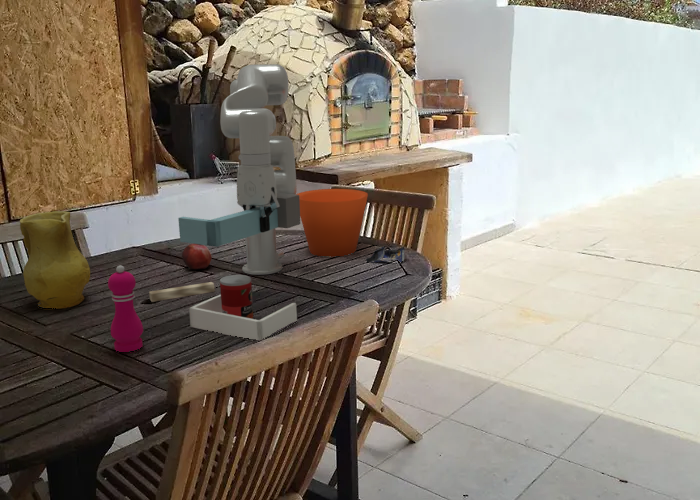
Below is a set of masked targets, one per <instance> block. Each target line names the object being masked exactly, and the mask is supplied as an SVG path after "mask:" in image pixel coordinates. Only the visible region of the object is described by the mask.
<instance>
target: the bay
mask: <svg viewBox="0 0 700 500" xmlns="http://www.w3.org/2000/svg"><path fill="white" fill-rule="evenodd" d="M188 310H189V311H188V312H189V323H190V324H189V325H190V326H189V327H191V328H195V329H198V330H204V331H207V330H208V332H212V331H214V332H213V333H216V332H218V333H217V334H221V333H222V334H221V335H226V336H230V335H231V337H235V336H237V337H236V338H239V337H243V338H242V339H244V338H249V339H256V340H262V339H263V338H264V339H265V337H267V336H270V335H271V334H272V333H274V332H276V331H277V330H279V329H281V328H283V327H285V326H287V325H288V324H290V323H292V322H294V321H297V322H298V317H297V316H298V314H297V313H298V312H297V303H296V302H292V303H290V304H288V305H285V306H284V307H282V308H281V309H278V310H276V311H274V312H272V313H271V314H268V315H266V316H264V317H262V318H261V319H256V318H255V319H254V318H253V319H250V318H245V317H240V316H235V315H230V314H225V313H222V304H221V293H220V294H217V295H216V296H214V297H211V298H209V299H206V300H204V301H202V302H200V303H197V304H194V305H193V306H191V307H188Z"/></svg>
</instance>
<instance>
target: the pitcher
mask: <svg viewBox="0 0 700 500" xmlns="http://www.w3.org/2000/svg"><path fill="white" fill-rule="evenodd" d="M19 229H20V233H21V236H23V243H24V246H25V249H27V251H26V252H27V255H28V259H27V262H26V264H25V265H24V266H23V267H24V268H23V272H22V273H23V274H22V275H23V279H24V280H23V281H24V286H25V288H26V291H27V293H28V294H29V295H30V296H32V297H33V298H35V299H36V300H38V302H37V304H40V303H41V304H40V305H38V306H40V307H43V308H52V309H51V310H55V308H56V310H57V309H61V310H62V309H67V308H72V307H74V306H78V305H79V304H80V305H81V303H82V302H84V300H85V298H86V296H85V295H84V294H83V292H84V288H85V287H86V285H88V283H89V282H90V279H91V267H90V265H89V262H88V259H86V257H85V256H84V255H83V254H82V252H81V251H80V250H79V248H78V247H77V245H76V242H75V240H74V236H73V231H72V228H71V212H70V211H65V210H64V211H60V210H58V211H47V212H38V213H34V214H29V215H27V216H25V217H23V218H21V219H20V220H19ZM38 306H37V307H38ZM53 308H54V309H53Z"/></svg>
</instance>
